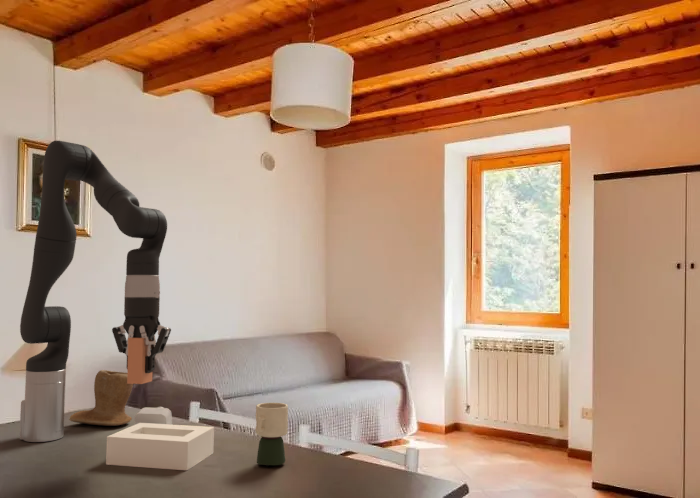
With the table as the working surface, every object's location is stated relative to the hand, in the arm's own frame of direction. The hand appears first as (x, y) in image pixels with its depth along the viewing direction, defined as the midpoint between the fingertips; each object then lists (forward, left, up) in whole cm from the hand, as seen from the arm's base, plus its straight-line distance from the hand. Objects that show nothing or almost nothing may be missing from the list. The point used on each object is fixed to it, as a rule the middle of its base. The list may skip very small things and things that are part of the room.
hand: (140, 372), depth 140 cm
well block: (+4, +4, -20) cm, 20 cm away
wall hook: (-5, +19, -20) cm, 28 cm away
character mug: (+29, +5, -20) cm, 36 cm away
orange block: (0, 0, -2) cm, 2 cm away
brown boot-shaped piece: (-28, +32, -20) cm, 46 cm away
